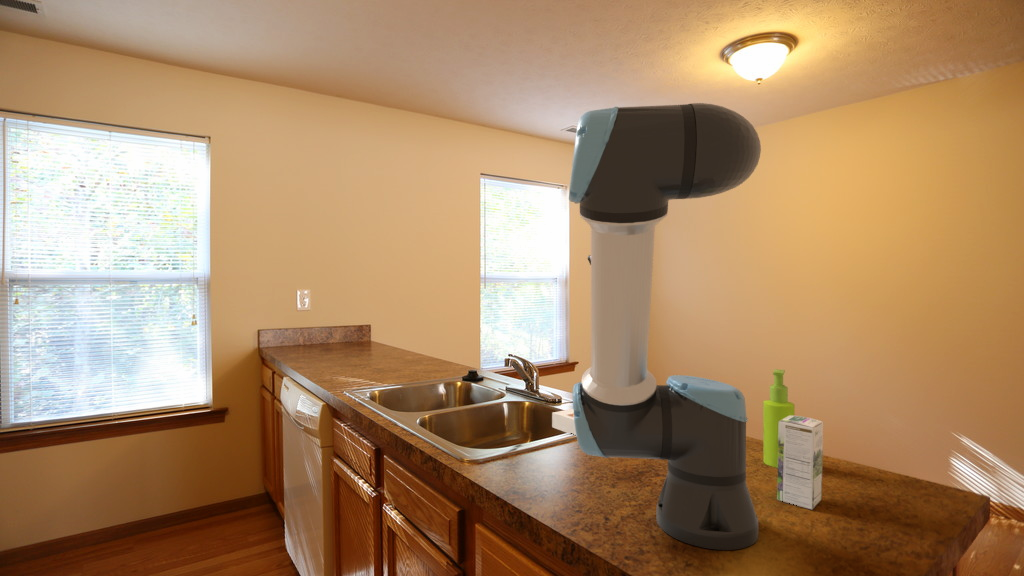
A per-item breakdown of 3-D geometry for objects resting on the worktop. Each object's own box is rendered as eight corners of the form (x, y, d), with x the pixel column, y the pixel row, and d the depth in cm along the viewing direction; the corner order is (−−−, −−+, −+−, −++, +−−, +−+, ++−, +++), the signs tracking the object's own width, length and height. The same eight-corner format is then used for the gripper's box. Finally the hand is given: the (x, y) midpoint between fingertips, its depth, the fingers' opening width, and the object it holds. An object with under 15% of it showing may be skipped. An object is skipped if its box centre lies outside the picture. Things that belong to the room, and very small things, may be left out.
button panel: (588, 440, 124) (588, 424, 124) (552, 427, 135) (552, 412, 135) (657, 423, 138) (657, 409, 138) (619, 413, 150) (619, 399, 150)
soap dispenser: (795, 460, 109) (795, 369, 109) (793, 470, 103) (793, 374, 103) (765, 455, 112) (765, 367, 112) (761, 465, 106) (761, 371, 106)
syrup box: (787, 491, 93) (787, 413, 93) (823, 501, 89) (823, 419, 89) (776, 500, 89) (776, 419, 89) (814, 511, 85) (814, 426, 85)
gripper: (602, 221, 106) (603, 332, 106) (644, 225, 113) (644, 329, 113) (578, 225, 112) (579, 330, 112) (619, 228, 119) (619, 327, 119)
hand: (611, 329), depth 113 cm, fingers closed
